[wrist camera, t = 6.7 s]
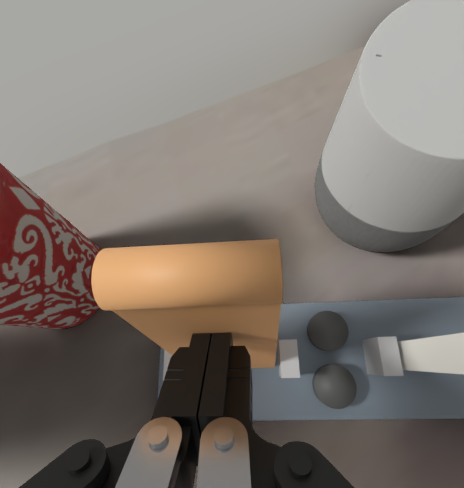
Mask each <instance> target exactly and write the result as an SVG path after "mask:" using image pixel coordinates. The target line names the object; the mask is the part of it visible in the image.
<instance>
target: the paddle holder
mask: <svg viewBox="0 0 464 488" xmlns="http://www.w3.org/2000/svg"><path fill="white" fill-rule="evenodd" d="M457 333H464V297H448V298H422V299H396V300H370V301H344V302H318V303H292V304H281V311H280V321H279V330H278V340H277V349H276V359H275V368H251V370H252V383H253V408H252V409H253V421H257V420H370V419H464V374H450V373H436V372H422V371H408V370H403V369H402V364H401V359H400V353H399V348H398V343H397V342H399V341H406V340H414V339H421V338H428V337H435V336H442V335H449V334H457ZM171 357H172V355H171V354H170V353H168V352H167V351H166V350H164V349H163V348H162V347H160V361H159V381H158V397H159V394H160V391H161V387H162V384H163V381H164V378H165V375H166V371H167V368H168V365H169V362H170V358H171Z"/></svg>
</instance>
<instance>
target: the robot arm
mask: <svg viewBox="0 0 464 488" xmlns="http://www.w3.org/2000/svg"><path fill="white" fill-rule="evenodd" d="M252 408H253V383H252V370H251V358H250V354H249V352H248V350H247V349H246V347H245V346H233V338H232V333H231V332H223V333H193V334H192V337H191V341H190V345H189V347H179V348H178V349H177V351H176V352H175V353H174V354H173V355H172V357H171V358H170V362H169V365H168V368H167V371H166V375H165V378H164V381H163V384H162V387H161V391H160V394H159V397H158V400H157V403H156V407H155V410H154V413H153V416H152V419H151V421H150V422H148V423H147V424H145V425H144V426H143V427H142V428H141V429H140V431H139V432H138V434H137V436H136V438H134V439H132V440H130V441H128V442H125V443H122V444H119V445H116V446H113V447H109V448H106V449H105V447H104V445H103V444H102V443H101V442H100V441H98V440H95V439H88V440H83V441H81V442H78V443H76V444H75V445H73V446H71V447H70V448H69V449H67V450H66V451H65V452H64V453H62V454H61V455H60V456H59V457H57V458H56V459H55V460H53V461H52V462H51V463H50V464H48V465H47V466H46V467H45V468H43V469H42V470H41V471H40V472H38V473H37V474H36V475H34V476H33V477H32V478H31V479H29V480H28V481H27V482H26V483H24V484H23V485H22V486H20V487H19V488H194V479H195V472H196V466H198V475H197V488H354V487H353V486H352V485H351V484H350V483H349V482H348V481H347V480H346V479H345V478H344V477H343V476H342V475H341V474H340V473H339V471H338V470H337V469H336V468H335V467H334V466H333V465H332V464H331V463H330V462H329V461H328V460H327V459H326V458H325V457H324V456H323V455H322V454H321V453H320V452H319V451H318V450H317V449H316V448H315V447H313V446H312V445H310V444H308V443H305V442H299V441H294V442H289V443H287V444H285V445H284V446H282V447H279V446H277V445H274V444H271V443H269V442H266V441H264V440H263V439H261V438H260V437H259V436H258V435H257V434H256V433H255V432H254V430H253V409H252Z"/></svg>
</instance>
